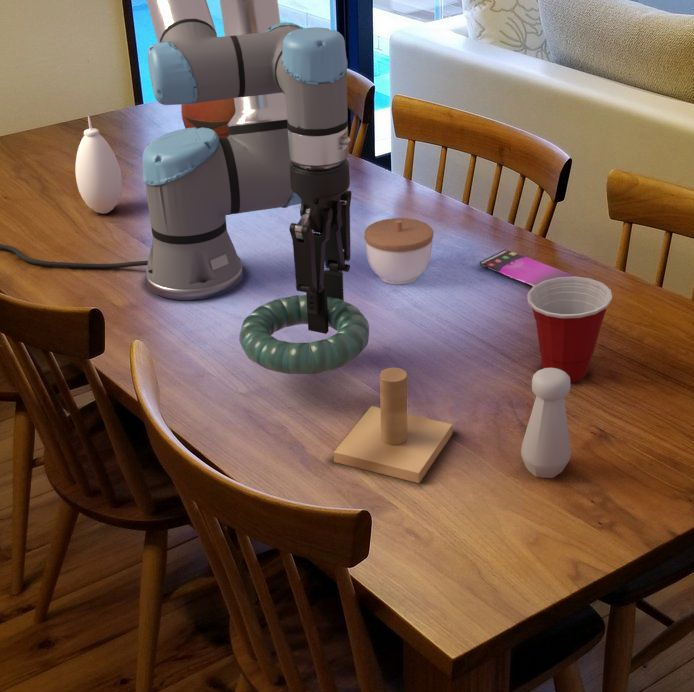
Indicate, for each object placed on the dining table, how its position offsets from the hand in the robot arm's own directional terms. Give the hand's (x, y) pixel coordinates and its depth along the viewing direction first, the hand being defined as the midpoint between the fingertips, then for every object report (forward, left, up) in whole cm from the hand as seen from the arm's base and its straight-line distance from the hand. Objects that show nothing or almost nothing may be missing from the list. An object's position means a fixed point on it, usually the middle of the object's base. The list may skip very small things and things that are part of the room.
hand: (326, 322), depth 147 cm
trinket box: (-1, +27, -6) cm, 28 cm away
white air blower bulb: (-62, +32, -6) cm, 70 cm away
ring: (0, -6, +2) cm, 7 cm away
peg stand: (+17, -17, -6) cm, 25 cm away
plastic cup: (+31, +8, -6) cm, 33 cm away
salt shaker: (+35, -14, -6) cm, 38 cm away
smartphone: (+18, +35, -6) cm, 40 cm away
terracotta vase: (-45, +52, -6) cm, 69 cm away
